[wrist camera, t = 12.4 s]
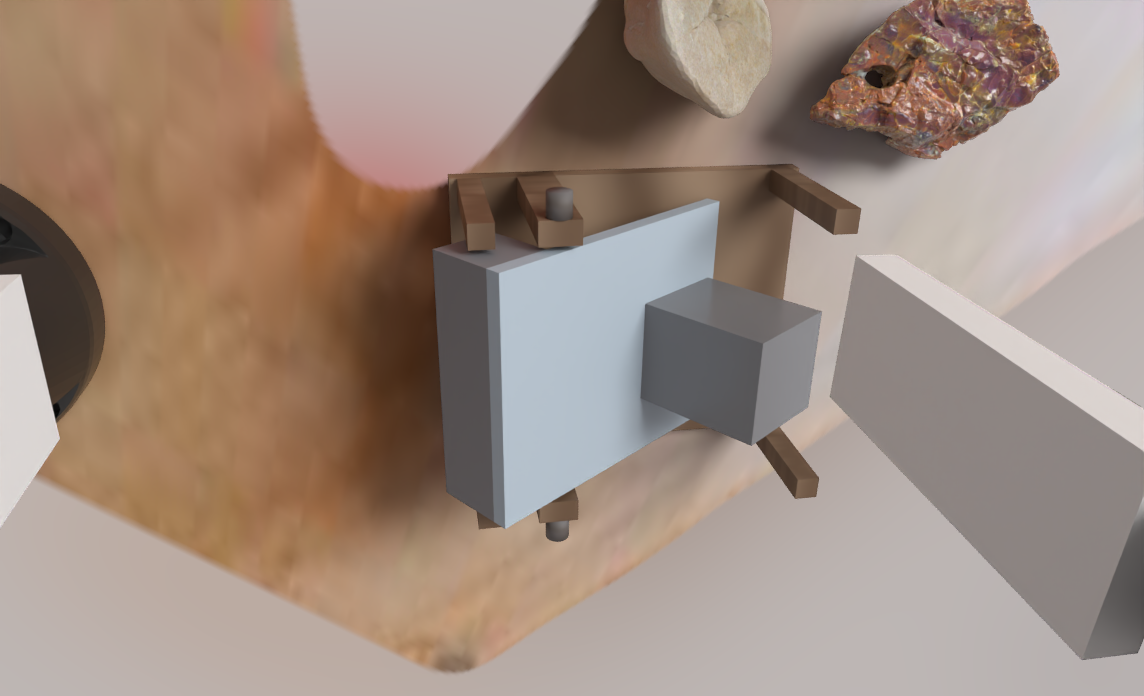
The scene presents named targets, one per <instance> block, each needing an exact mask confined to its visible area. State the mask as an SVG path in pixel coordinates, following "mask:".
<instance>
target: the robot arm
mask: <svg viewBox="0 0 1144 696" xmlns="http://www.w3.org/2000/svg"><path fill="white" fill-rule="evenodd" d="M104 337H105V318H104V309H103V304H102V300H101V296H100V292H99V289H98V286H97V284H96V281H95V279H94V276H93V274H92V272H91V270H90V268H89V266H88V264H87V263H86V261H85V259H84V258H83V256H82V254H81V253H80V251H79V250H78V249H77V247H76V246H75V245H74V243H73V242H72V241H71V239H70V238H69V237H68V236H67V235H66V234H65V232H64V231H63V230H62V229H61V228H60V227H59V226H58V225H57V224H56V223H55V222H54V221H53V220H52V219H51V218H50V217H49V216H47V215H46V214H45V213H44V212H43V211H41V210H40V209H39V208H38V207H36V206H35V205H34V204H32V203H31V202H30V201H28V200H27V199H25V198H24V197H22V196H21V195H19V194H18V193H16V192H14V191H13V190H11V189H9V188H7V187H5V186H4V185H2V184H0V528H1V526H2V525H3V523H4V522H5V520H6V519H7V517H8V516H9V514H10V512H11V511H12V510H13V508H14V506H15V505H16V504H17V502H18V501H19V499H20V498H21V496H22V495H23V493H24V492H25V490H26V489H27V487H28V486H29V484H30V483H31V481H32V480H33V478H34V477H35V475H36V474H37V472H38V471H39V469H40V468H41V466H42V465H43V463H44V462H45V460H46V459H47V457H48V456H49V454H50V453H51V451H52V450H53V448H54V447H55V445H56V444H57V442H58V441H59V439H60V437H59V433H58V429H57V425H56V423H57V422H58V421H59V420H60V419H61V418H62V417H63V416H64V415H65V414H66V413H67V412H68V411H69V410H70V408H71V407H72V406H73V404H74V403H75V402H76V400H77V399H78V398H79V396H80V395H81V393H82V392H83V391H84V389H85V388H86V386H87V385H88V384H89V382H90V380H91V379H92V377H93V375H94V373H95V371H96V369H97V366H98V364H99V361H100V358H101V354H102V351H103V345H104ZM830 397H831V399H832V400H833V401H834V402H835V403H836V404H837V405H838V406H839V407H840V408H841V409H842V410H843V411H844V412H845V413H846V414H847V415H848V416H849V417H850V418H851V419H852V420H853V421H854V423H856V425H857V426H858V427H859V428H860V429H861V430H862V431H863V432H864V433H865V434H866V435H867V436H868V437H869V438H870V439H871V440H872V441H873V442H874V443H875V444H876V445H877V447H878V448H879V449H880V450H881V451H882V452H883V453H884V454H885V455H886V456H887V457H888V458H889V459H890V460H891V461H892V462H893V463H894V464H895V465H896V466H897V467H898V469H899V470H900V471H901V472H902V473H903V474H904V475H905V476H906V477H907V478H908V479H909V480H910V481H911V482H912V483H913V484H914V485H915V486H916V487H917V488H918V489H919V490H920V491H921V493H922V494H923V495H924V496H925V497H927V499H928V500H929V501H930V502H931V503H932V504H933V505H934V506H935V507H936V508H937V509H938V510H939V511H940V512H941V513H942V514H943V515H944V517H945V518H946V519H947V520H948V521H949V522H950V523H951V524H952V525H953V526H954V527H955V528H956V529H957V530H958V531H959V532H960V533H961V534H962V535H963V536H964V537H965V539H966V540H967V541H969V543H970V544H971V545H972V546H973V547H974V548H975V549H976V550H977V551H978V552H979V553H980V554H981V555H982V556H983V557H984V558H985V559H986V560H987V561H988V563H989V564H990V565H991V566H992V567H993V568H994V569H995V570H996V571H997V572H998V573H999V574H1000V575H1001V576H1002V577H1003V578H1004V579H1005V580H1006V581H1007V582H1008V583H1009V584H1010V585H1011V587H1012V588H1013V589H1014V590H1015V591H1016V592H1017V593H1018V594H1019V595H1020V596H1021V597H1022V598H1023V599H1024V600H1025V601H1026V602H1027V603H1028V604H1029V605H1030V606H1031V607H1032V609H1033V610H1034V611H1035V612H1036V613H1037V614H1038V615H1039V616H1040V617H1041V618H1042V619H1043V620H1044V621H1045V622H1046V623H1047V624H1048V625H1049V626H1050V627H1051V628H1052V629H1053V630H1054V632H1055V633H1056V634H1058V636H1059V637H1061V639H1062V640H1063V641H1064V642H1065V643H1066V644H1067V645H1068V646H1069V647H1070V648H1071V649H1072V650H1073V651H1074V652H1075V653H1076V655H1077V656H1079V658H1080V659H1081V660H1086V659H1094V658H1102V657H1110V656H1119V655H1127V654H1135V653H1138V651H1139V649H1140V646H1141V644H1142V642H1143V639H1144V409H1143V408H1142V407H1141V406H1139V405H1137V404H1136V403H1134V402H1133V401H1131V400H1129V399H1128V398H1126V397H1125V396H1123V395H1122V394H1120V393H1118V392H1117V391H1115V390H1114V389H1112V388H1110V387H1108V386H1106V385H1105V384H1103V383H1102V382H1100V381H1098V380H1097V379H1095V378H1093V377H1092V376H1090V375H1089V374H1087V373H1085V372H1084V371H1082V370H1081V369H1079V368H1077V367H1076V366H1074V365H1073V364H1071V363H1069V362H1068V361H1066V360H1065V359H1063V358H1061V357H1060V356H1058V355H1057V354H1055V353H1054V352H1052V351H1050V350H1049V349H1047V348H1046V347H1044V346H1042V345H1040V344H1039V343H1038V342H1036V341H1034V340H1033V339H1031V338H1029V337H1028V336H1026V335H1025V334H1023V333H1021V332H1020V331H1018V330H1017V329H1015V328H1013V327H1012V326H1010V325H1009V324H1007V323H1005V322H1004V321H1002V320H1001V319H999V318H997V317H996V316H994V315H993V314H991V313H989V312H988V311H986V310H985V309H983V308H981V307H980V306H978V305H977V304H975V303H973V302H972V301H970V300H969V299H967V298H965V297H964V296H962V295H961V294H959V293H957V292H956V291H954V290H953V289H951V288H949V287H948V286H946V285H945V284H943V283H941V282H940V281H938V280H937V279H935V278H933V277H932V276H930V275H929V274H927V273H925V272H924V271H922V270H921V269H919V268H917V267H916V266H914V265H913V264H911V263H909V262H908V261H906V260H905V259H903V258H901V257H900V256H898V255H857V256H856V259H855V264H854V270H853V275H852V280H851V286H850V291H849V296H848V302H847V307H846V313H845V318H844V323H843V329H842V334H841V339H840V345H839V350H838V356H837V361H836V366H835V372H834V377H833V382H832V388H831V393H830Z"/></svg>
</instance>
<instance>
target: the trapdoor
mask: <svg viewBox="0 0 1144 696" xmlns="http://www.w3.org/2000/svg"><path fill="white" fill-rule="evenodd" d="M719 202H720V201H716V200H712V199H708V198H707V199H704V200H701V201H698V202H694V203H691V204H688V205H685V206H682V207H679V208H676V209H672V210H669V211H666V212H663V213H660V214H657V215H653V216H650V217H647V218H644V219H641V220H638V221H635V222H631V223H628V224H625V225H622V226H619V227H616V228H612V229H609V230H606V231H603V232H600V233H597V234H594V235H590V236H587V237H584V238H583V246H563V247H553V248H549V249H543V248H538V247H537V246H534V245H531V244H528V243H525V242H522V241H519V240H515V239H512V238H509V237H506V236H503V235H500V234H497V233H495V249H494V250H472V251H468V249H467V244H466V240H463V241H460V242H456V243H453V244H449V245H446V246H442V247H439V248H435V249H433V265H434V282H435V299H436V316H437V334H438V351H439V368H440V385H441V403H442V420H443V437H444V455H445V472H446V489H447V493H449V494H450V495H452V496H453V497H455V498H457V499H458V500H460V501H461V502H463V503H465V504H466V505H468V506H469V507H471V508H473V509H474V510H476V511H477V512H479V513H481V514H482V515H484V516H485V517H487V518H489V519H490V520H492V521H493V522H495V523H497V524H498V525H500V526H501V527H503V528H504V529H506V528H508V527H510V526H511V525H513V524H515V523H516V522H518V521H520V520H521V519H523V518H525V517H526V516H528V515H530V514H531V513H533V512H535V511H536V510H538V509H540V508H542V507H543V506H545V505H547V504H548V503H550V502H552V501H553V500H555V499H557V498H558V497H560V496H562V495H563V494H565V493H567V492H569V491H570V490H572V489H574V488H575V487H577V486H579V485H580V484H582V483H584V482H585V481H587V480H589V479H590V478H592V477H594V476H595V475H597V474H599V473H601V472H602V471H604V470H606V469H607V468H609V467H611V466H612V465H614V464H616V463H617V462H619V461H621V460H622V459H624V458H626V457H627V456H629V455H631V454H633V453H634V452H636V451H638V450H639V449H641V448H643V447H644V446H646V445H648V444H649V443H651V442H653V441H654V440H656V439H658V438H660V437H661V436H663V435H665V434H666V433H668V432H670V431H671V430H673V429H675V428H676V427H678V426H680V425H681V424H683V423H685V422H686V421H688V420H690V419H688V418H685V417H683V416H681V415H678V414H676V413H674V412H671V411H669V410H667V409H664V408H662V407H660V406H657V405H655V404H653V403H650V402H648V401H646V400H643V399H641V398H640V397H641V378H642V358H643V339H644V320H645V304H646V303H648V302H650V301H653V300H655V299H658V298H660V297H662V296H665V295H667V294H669V293H672V292H674V291H677V290H679V289H681V288H684V287H686V286H688V285H691V284H693V283H696V282H698V281H700V280H703V279H705V278H712V279H713V272H714V260H715V248H716V237H717V225H718V213H719Z"/></svg>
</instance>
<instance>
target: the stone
mask: <svg viewBox="0 0 1144 696" xmlns="http://www.w3.org/2000/svg"><path fill="white" fill-rule="evenodd" d="M624 12H625V17H626V23H625V30H624V42H625V45H626V47H627V50H628V51H629V53H630V54H631V55H632V56H633V57H634V58H635V59H637V60H639V61H641V62H642V63H643V65H644V66H645V68H646V69H647V70H648V71H649V73H650V74H651V75H652V76H653V77H654V78H655V79H657V80H658V81H659V82H660V83H662V84H663V85H665V86H666V87H668V88H670V89H671V90H673V91H674V92H676V93H678V94H679V95H681V96H683V97H685V98H688V99H690V100H692V101H694V102H695V103H697V104H698V105H700V106H701V107H702V108H703V109H705V110H706V111H708V112H709V113H711V114H713V115H715V116H717V117H719V118H731V117H734V116H736V115H738V114H740V113H741V112H742V111H743V110H744V108H745V107H746V105H747V104H748V101H749V99H750V96H751V95H752V93H753V91H754V89H755V88H756V87H757V85H758V84H759V83H760V82H761V80H763V79H764V78H765V77H766V75H767V73H768V72H769V69H770V65H771V57H772V50H771V42H772V36H771V25H770V18H769V14H768V10H767V7H766V5H765V3H764V1H763V0H624Z"/></svg>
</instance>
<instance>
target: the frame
mask: <svg viewBox="0 0 1144 696" xmlns="http://www.w3.org/2000/svg"><path fill="white" fill-rule="evenodd" d="M448 189H449V209H450V230H451V244H453V243H456V242H460V241H463V240H466V244H467V249H468V251H472V250H494V249H495V233H497V234H500V235H503V236H506V237H509V238H512V239H515V240H519V241H522V242H525V243H528V244H531V245H534V246H537V247H538V248H543V249H549V248H553V247H563V246H583V238H584V237H587V236H590V235H594V234H597V233H600V232H603V231H606V230H609V229H612V228H616V227H619V226H622V225H625V224H628V223H631V222H635V221H638V220H641V219H644V218H647V217H650V216H653V215H657V214H660V213H663V212H666V211H669V210H672V209H676V208H679V207H682V206H685V205H688V204H691V203H694V202H698V201H701V200H704V199H707V198H708V199H712V200H716V201H720V202H719V213H718V225H717V237H716V248H715V260H714V272H713V279H715V280H718V281H722V282H725V283H728V284H732V285H735V286H738V287H742V288H745V289H748V290H752V291H755V292H758V293H762V294H765V295H768V296H772V297H775V298H778V299H782V300H783V295H784V287H785V279H786V271H787V263H788V255H789V247H790V239H791V231H792V222H793V214H794V208H795V209H796V210H798V211H799V212H801V213H802V214H804V215H805V216H807V217H808V218H810V219H811V220H813V221H814V222H816V223H817V224H819V225H820V226H821V227H823V228H824V229H826V230H827V231H829V232H830V233H832V234H833V235H837V234H857V233H858V226H859V220H860V214H861V208H859V207H857V206H856V205H854V204H852V203H851V202H849V201H847V200H845V199H844V198H842V197H840V196H839V195H837V194H835V193H833V192H832V191H830V190H828V189H827V188H825V187H823V186H821V185H820V184H818V183H816V182H815V181H813V180H811V179H809V178H808V177H806V176H804V175H803V174H801V173H799V168H798V167H796V166H794V165H793V164H778V165H744V166H710V167H676V168H642V169H608V170H574V171H540V172H506V173H472V174H448ZM701 428H709V427H706V426H704V425H702V424H699V423H697V422H695V421H692V420H688V421H686V422H685V423H683V424H681V425H680V426H678V427H676V428H675V429H673V430H671V431H676V430H689V429H701ZM756 444H757V445H758V447H759V448H760V449H761V451H762V452H763V454H764V455H765V457H766V458H767V459H768V461H769V462H770V464H771V465H772V467H773V468H774V469H775V471H776V472H777V474H778V475H779V476H780V478H781V479H782V481H783V482H784V484H785V485H786V486H787V488H788V489H789V491H790V492H791V493H792V495H793V496H794V498H795V499H797V498H809V497H816V494H817V488H818V482H819V477H818V476H817V475H816V474H815V472H814V471H813V470H812V468H811V467H810V466H809V465H808V463H807V462H806V461H805V459H804V458H803V457H802V455H801V454H800V453H799V452H798V450H797V449H796V448H795V446H794V445H793V444H792V443H791V441H790V440H789V439H788V437H787V436H786V435H785V434H784V432H783V431H782V430H781V428H780V427H778V428H777V429H775V430H774V431H772V432H771V433H769V434H768V435H766V436H765V437H763V438H762V439H761V440H759V441H758V442H756ZM537 514H538V518H539V523H546V537H547V538H548V539H549V540H551V541H555V542H560V541H563V540H565V539H567V538H568V536H569V520H578V498H577V494H576V491H575V488H574V489H572V490H570V491H569V492H567V493H565V494H563V495H562V496H560V497H558V498H557V499H555V500H553V501H552V502H550V503H548V504H547V505H545V506H543V507H542V508H540V509H538V510H537ZM477 517H478V525H479V529H485V528H496V527H501V526H500V525H498V524H497V523H495V522H493V521H492V520H490V519H489V518H487V517H485V516H484V515H482V514H481V513H479V512H477Z"/></svg>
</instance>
